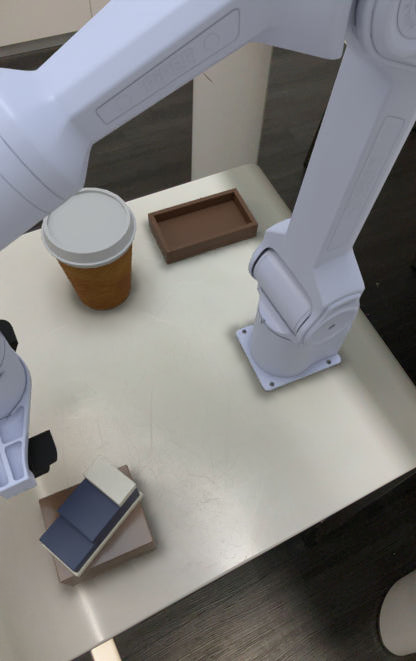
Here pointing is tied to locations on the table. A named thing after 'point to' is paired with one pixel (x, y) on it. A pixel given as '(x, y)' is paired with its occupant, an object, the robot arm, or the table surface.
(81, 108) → the robot arm
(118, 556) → the grey brown block
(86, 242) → the disposable coffee cup
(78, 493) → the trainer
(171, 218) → the brown wooden tray
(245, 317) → the table surface
